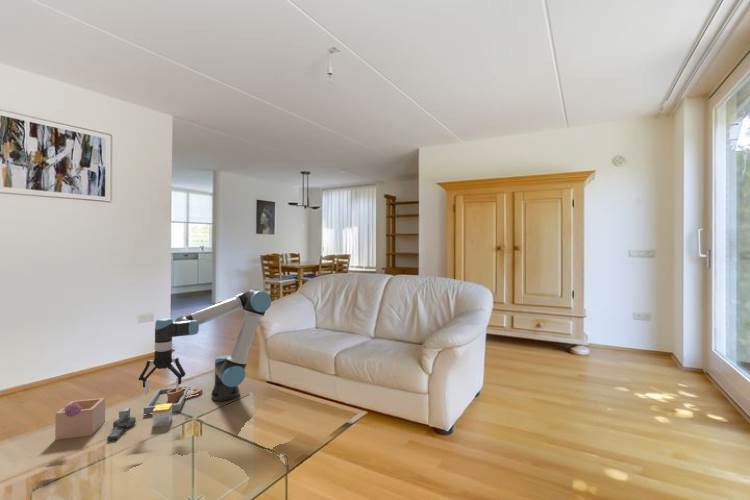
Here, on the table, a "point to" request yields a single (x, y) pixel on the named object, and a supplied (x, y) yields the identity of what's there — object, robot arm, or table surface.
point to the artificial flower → (72, 409)
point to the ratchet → (121, 424)
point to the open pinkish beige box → (81, 419)
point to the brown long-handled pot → (180, 394)
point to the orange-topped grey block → (162, 415)
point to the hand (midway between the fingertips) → (162, 392)
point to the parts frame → (149, 406)
